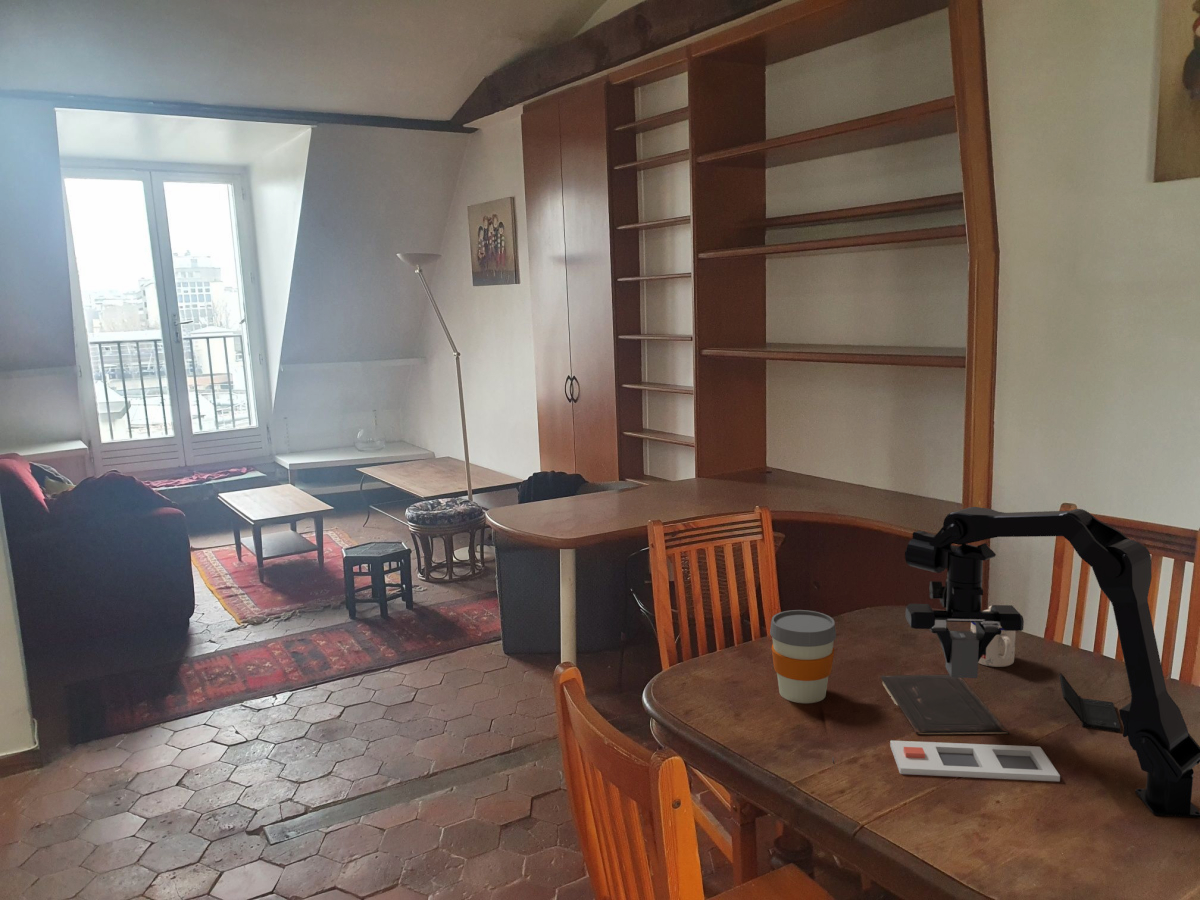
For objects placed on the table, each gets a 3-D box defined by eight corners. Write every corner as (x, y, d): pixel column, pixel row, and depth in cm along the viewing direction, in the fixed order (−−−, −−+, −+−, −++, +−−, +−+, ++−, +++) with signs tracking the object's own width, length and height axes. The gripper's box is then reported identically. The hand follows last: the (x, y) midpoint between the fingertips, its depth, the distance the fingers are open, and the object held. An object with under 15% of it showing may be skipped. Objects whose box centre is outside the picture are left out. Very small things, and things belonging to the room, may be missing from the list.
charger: (977, 678, 153) (978, 640, 152) (951, 677, 154) (952, 639, 152) (970, 667, 157) (972, 630, 156) (945, 667, 158) (946, 630, 157)
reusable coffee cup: (802, 674, 180) (802, 605, 177) (849, 696, 169) (850, 623, 167) (756, 690, 173) (756, 618, 170) (802, 713, 162) (803, 638, 160)
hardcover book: (915, 743, 151) (916, 731, 151) (880, 686, 174) (880, 675, 174) (1009, 742, 151) (1009, 730, 150) (961, 685, 173) (961, 674, 173)
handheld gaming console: (1134, 725, 151) (1096, 677, 152) (1098, 747, 153) (1060, 699, 154) (1114, 704, 162) (1078, 660, 164) (1080, 725, 164) (1045, 681, 165)
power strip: (1059, 787, 136) (1060, 771, 135) (836, 776, 141) (836, 760, 140) (1039, 757, 144) (1040, 742, 144) (830, 748, 150) (830, 733, 149)
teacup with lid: (961, 651, 188) (963, 600, 186) (1002, 650, 188) (1004, 598, 186) (986, 674, 176) (988, 620, 174) (1030, 673, 176) (1033, 618, 174)
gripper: (1006, 565, 159) (1002, 646, 162) (900, 564, 162) (898, 643, 164) (1026, 585, 148) (1022, 671, 151) (912, 583, 151) (910, 668, 154)
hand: (961, 662), depth 155 cm, fingers closed on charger, 4 cm apart
